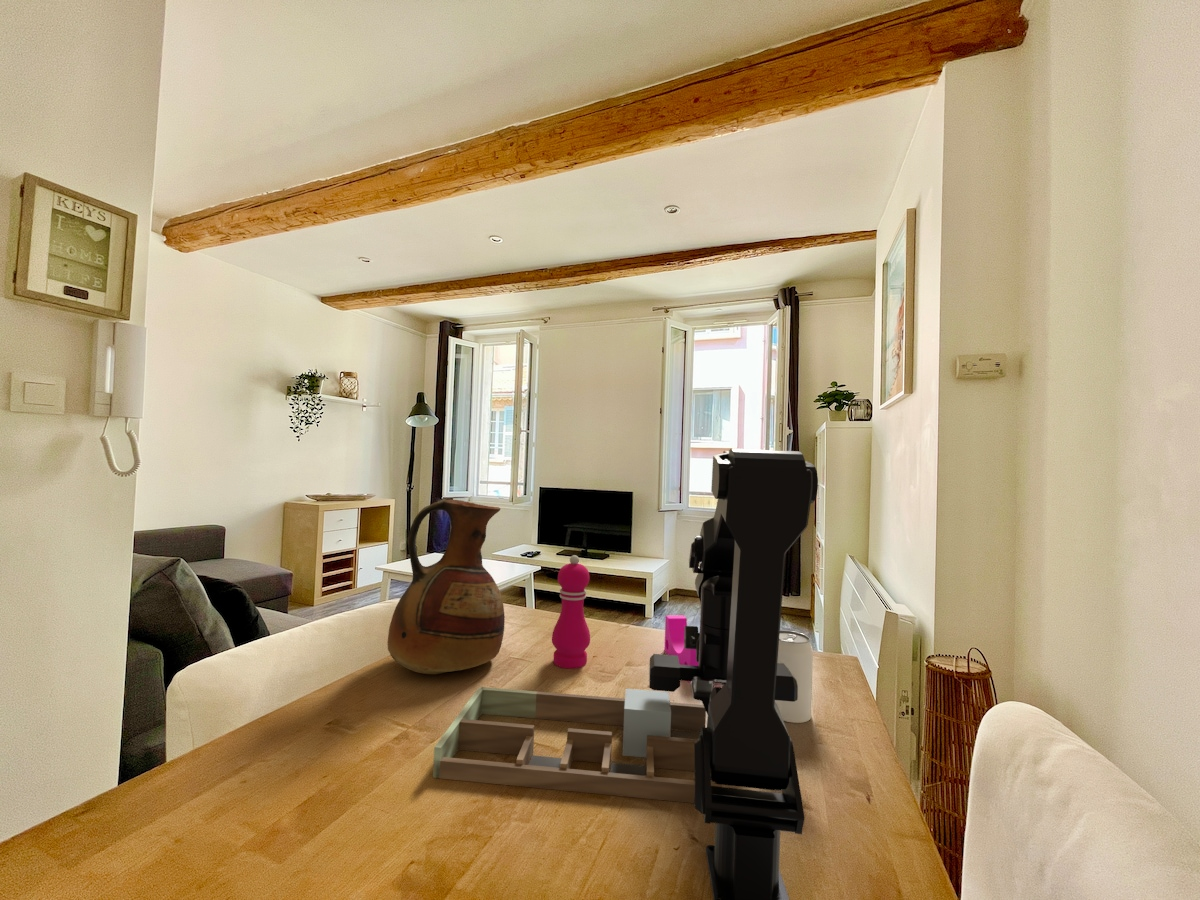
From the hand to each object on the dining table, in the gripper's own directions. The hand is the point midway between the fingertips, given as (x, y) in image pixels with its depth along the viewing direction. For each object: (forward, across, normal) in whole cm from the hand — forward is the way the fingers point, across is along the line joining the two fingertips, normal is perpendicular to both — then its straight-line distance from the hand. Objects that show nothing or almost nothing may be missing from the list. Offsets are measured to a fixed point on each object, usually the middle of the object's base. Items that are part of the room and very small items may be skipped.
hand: (717, 741), depth 67 cm
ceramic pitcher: (+2, +46, -21) cm, 50 cm away
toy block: (+2, +1, -28) cm, 29 cm away
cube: (+1, +10, 0) cm, 10 cm away
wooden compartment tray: (+1, +18, 0) cm, 18 cm away
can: (+1, -12, -12) cm, 17 cm away
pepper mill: (+1, +24, -26) cm, 35 cm away
